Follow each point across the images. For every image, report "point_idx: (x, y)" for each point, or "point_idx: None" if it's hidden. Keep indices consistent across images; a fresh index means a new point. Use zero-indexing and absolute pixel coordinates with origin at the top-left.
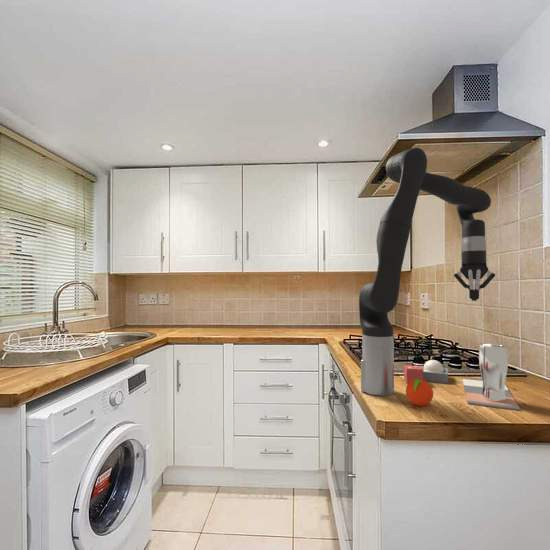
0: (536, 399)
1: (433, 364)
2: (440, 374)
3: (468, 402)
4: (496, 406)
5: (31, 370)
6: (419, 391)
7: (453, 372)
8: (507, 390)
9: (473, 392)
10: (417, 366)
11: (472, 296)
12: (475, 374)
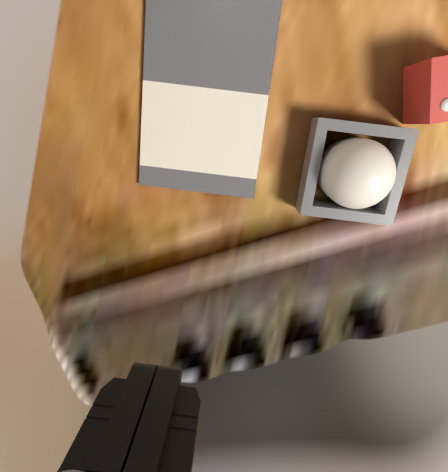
0: (82, 9)
1: (371, 149)
2: (343, 120)
3: None
4: None
5: None
6: None
7: (265, 272)
8: (147, 73)
9: (257, 4)
10: (442, 103)
11: (169, 397)
12: (202, 266)
